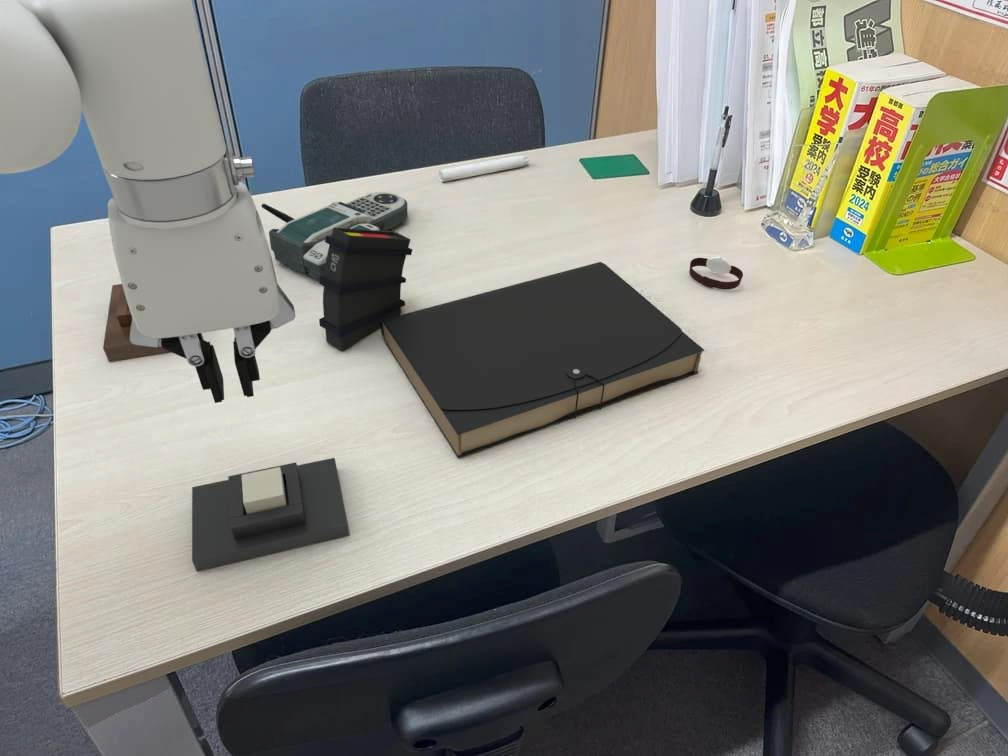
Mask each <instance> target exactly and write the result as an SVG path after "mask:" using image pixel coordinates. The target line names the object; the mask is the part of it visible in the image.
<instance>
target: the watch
mask: <svg viewBox="0 0 1008 756" xmlns="http://www.w3.org/2000/svg"><path fill="white" fill-rule="evenodd" d="M694 267H705V268H707V269H708V270H709V271H710V272H711V273H713V274H715V275H718V276H724V275H726V274H730V275H733V276H734V277H736V278H737V280H733V281H722V280H719V279H713V278H711V277H709V276H705V275H704V276H703V275H701V274H700V273H698V272H696V271H695V270H694V269H693V268H694ZM688 273H689V276H690V278H691V279H692V280H694V281H695V282H697V283H699V284H701V285H702V286H704V287H707V288H710V289H717V290H718V289H719V290H723V291H725V290H726V291H728V290H733V289H736V288H738V287H739V286H741V285H740V284H741V282H742V279H743V277H744V273H743V271H742V270H741V269H740V268H739V267H737V266H734V265H733V264H731V262H730V261H729V260H728V259H726V258H725V257H723V256H721V255H719V256H718V255H717V256H712V257H710V258H709V257H708V258H707V257H706V258H705V257H695V258H693V259H691V261H690V263H689V272H688Z"/></svg>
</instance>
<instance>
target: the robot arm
mask: <svg viewBox="0 0 1008 756" xmlns="http://www.w3.org/2000/svg"><path fill="white" fill-rule="evenodd" d="M82 114H83V116H84V119H85V122H86V125H87V127H88V131H89V133H90V136H91V139H92V141H93V144H94V148H95V150H96V153H97V155H98V158H99V161H100V164H101V167H102V170H103V173H104V176H105V178H106V181H107V184H108V188H109V190H110V193H111V195H112V197H111V198H110V199H109V201H108V202H107V216H108V226H109V232H110V238H111V243H112V248H113V253H114V258H115V262H116V266H117V269H118V273H119V278H120V281H121V284H122V285H123V289H124V292H125V296H126V299H127V303H128V306H129V309H130V312H131V315H132V322H131V330H130V342H131V343H132V344H135V345H141V346H150V347H158V346H160V347H163V348H164V349H166V350H168V351H170V352H169V353H172V354H175V355H177V356H179V357H181V358H184V359H185V360H186V361H187V363H188V364H189V365H190V366H192V367H194V368H195V370H196V374H197V377H198V379H199V382H200V385H201V386H200V387H201V388H202V390H203V391H205V390H210V392H211V396H212V399H213V401H214V403H215V404H218V403H222V402H223V401H225V387H224V386H225V385H224V376H223V373H222V369H221V366H220V362H219V359H218V357H217V356H218V355H217V354H216V353H217V352H216V350H215V346H214V344H211V342H210V341H207V340H205V337H204V335H203V333H210V332H217V331H221V330H222V331H223V330H229V329H232V330H233V333H234V337H233V339H234V341H232V343H233V359H234V365H235V368H236V372H237V376H238V380H239V383H240V386H241V389H242V390H241V391H242V393H243V396H244V397H246V398H251V397H254V395H255V394H254V384H253V382H258V381H261V377H260V371H259V370H260V369H259V366H258V362H257V357H256V349H257V348H258V347H259V346H260V344H261V343H262V342H264V340H265V339H266V338H267V337H268V335H269V334H270V333H271V332H272V330H274V329H275V330H276V329H278V328H280V327H283V326H284V325H287V324H289V323H290V322H292V321H294V320H295V319H296V310H295V306H294V304H293V303H292V301H291V300H290V298H289V297H288V296H287V294H286V293H285V291H283V289H282V288H281V286H280V285H279V284H278V282H277V281H278V280H277V275H276V271H275V267H274V262H273V257H272V254H271V249H270V246H269V243H268V240H267V237H266V233H265V230H264V226H263V223H262V220H261V217H260V214H259V211H258V209H257V206H256V204H255V202H254V199H253V197H252V195H251V193H250V191H249V188H248V187H247V185H246V184H245V183H243V182H242V181H245V179H246V178H255V177H256V172H255V168H254V162H253V158H252V156H242V157H241V156H240V155H234V152H233V151H229V150H228V145H227V142H226V140H225V136H224V133H223V132H224V131H223V128H222V123H221V119H220V115H219V110H218V107H217V102H216V99H215V94H214V90H213V86H212V81H211V77H210V73H209V68H208V63H207V59H206V55H205V50H204V47H203V42H202V38H201V33H200V29H199V24H198V20H197V16H196V12H195V8H194V4H193V1H192V0H0V175H12V174H18V173H24V172H29V171H32V170H35V169H38V168H41V167H44V166H46V165H47V164H49V163H51V162H53V161H55V160H56V159H58V158H59V157H60V156H61V155H62V154H63V153H64V152H65V151H66V150H67V149H68V148H69V147H70V146H71V144H72V142H73V141H74V139H75V137H76V136H77V134H78V131H79V128H80V124H81V123H82Z"/></svg>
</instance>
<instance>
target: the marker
mask: <svg viewBox="0 0 1008 756" xmlns="http://www.w3.org/2000/svg"><path fill="white" fill-rule="evenodd" d="M530 160H531V158H529V157H528V156H526V155H514V156H509V157H503V158H497V159H492V160H491V159H489V160H485V161H481V162H474V163H471V164H465V165H460V166H454V167H449V168H442V169H439V171H438V177H439V181H440V182H441V183H444V182H450V181H454V180H455V181H457V180H460V179H465V178H470V177H477V176H481V175H486V174H492V173H496V172H502V171H508V170H513V169H517V168H521V167H524V166H526V165H527V164H528V163H529V162H530Z"/></svg>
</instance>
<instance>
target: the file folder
mask: <svg viewBox="0 0 1008 756" xmlns="http://www.w3.org/2000/svg"><path fill="white" fill-rule="evenodd" d="M379 330H380V332H381V336H382V338H383V341H384V343H385V345H386V347H388V350H389V351H390V353H391V354H392V356H393V357H394V359H395V361H396V362H397V364H398V365H399V367H400V368H401V370H402V371H403V373H404V375H405V377H406V378H407V379H408V381H409V382H410V384H411V386H412V387H413V389H414V390H415V392H416V394H417V396H418V397H419V398H420V400H421V401H422V404H423V405H424V406H425V408H426V410H427V411H428V412H429V415H431V417H432V419H433V420H434V422H435V424H436V425H437V427H438V429H439V430H440V432H441V433H442V435H443V436H444V438H445V439H446V441H447V443H448V444H449V446H450V447H451V449H452V450H453V452H454V454H455V455H456V457H457V458H458V459H460V458H463V457H465V456H468V455H472V454H475V453H477V452H479V451H483V450H485V449H488V448H491V447H494V446H496V445H499V444H502V443H505V442H508V441H511V440H513V439H516V438H519V437H522V436H524V435H527V434H529V433H532V432H536V431H538V430H542V429H544V428H546V427H550V426H552V425H555V424H558V423H561V422H563V421H566V420H569V419H572V418H573V419H576V418H577V417H578V416H581V415H583V414H586V413H589V412H591V411H594V410H595V411H596V410H601V409H602V408H604V407H605V406H608V405H611V404H614V403H617V402H620V401H623V400H625V399H628V398H631V397H633V396H637V395H640V394H642V393H645V392H648V391H651V390H654V389H656V388H659V387H662V386H665V385H667V384H671V383H673V382H676V381H679V380H682V379H684V378H687V377H689V376H693V375H696V374H699V367H700V366H699V365H700V363H701V358H702V356H703V354H702V353H703V352H705V351H706V350H705V349H704V348H703V347H702V346H701V345H700V344H698V343H697V342H695V341H694V340H693V339H692V338H691V337H690V336H689V335H687V333H685V332H684V331H683V330H682V328H681V327H680V326H679V325H677V324H676V323H675V322H674V321H673V320H672V319H670V318H669V317H668V316H667V315H666V314H664V313H663V312H662V311H661V310H660V309H659V308H657V306H655V305H654V304H653V303H652V302H650V300H648V299H647V298H646V297H645V296H644V295H642V294H641V293H640V292H639V291H638V290H636V289H635V288H634V287H633V286H632V285H630V284H629V283H628V282H627V281H626V280H625V279H624V278H623V277H621V276H620V275H619V274H618V273H616V271H614V270H613V269H612V268H610V267H609V266H608V265H607V264H606V263H603V262H602V261H598V262H595V263H590V264H587V265H582V266H579V267H576V268H571V269H568V270H565V271H561V272H557V273H552V274H549V275H546V276H542V277H538V278H534V279H530V280H526V281H523V282H519V283H515V284H512V285H511V284H510V285H508V286H505V287H501V288H496V289H494V290H493V289H492V290H489V291H485V292H481V293H477V294H475V295H470V296H467V297H463V298H460V299H456V300H451V301H449V302H445V303H440V304H437V305H433V306H430V307H425V308H422V309H418V310H413V311H410V312H406V313H403V314H402V313H401V315H399V316H395V317H391V318H387V319H384V320H381V321H380V328H379Z"/></svg>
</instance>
